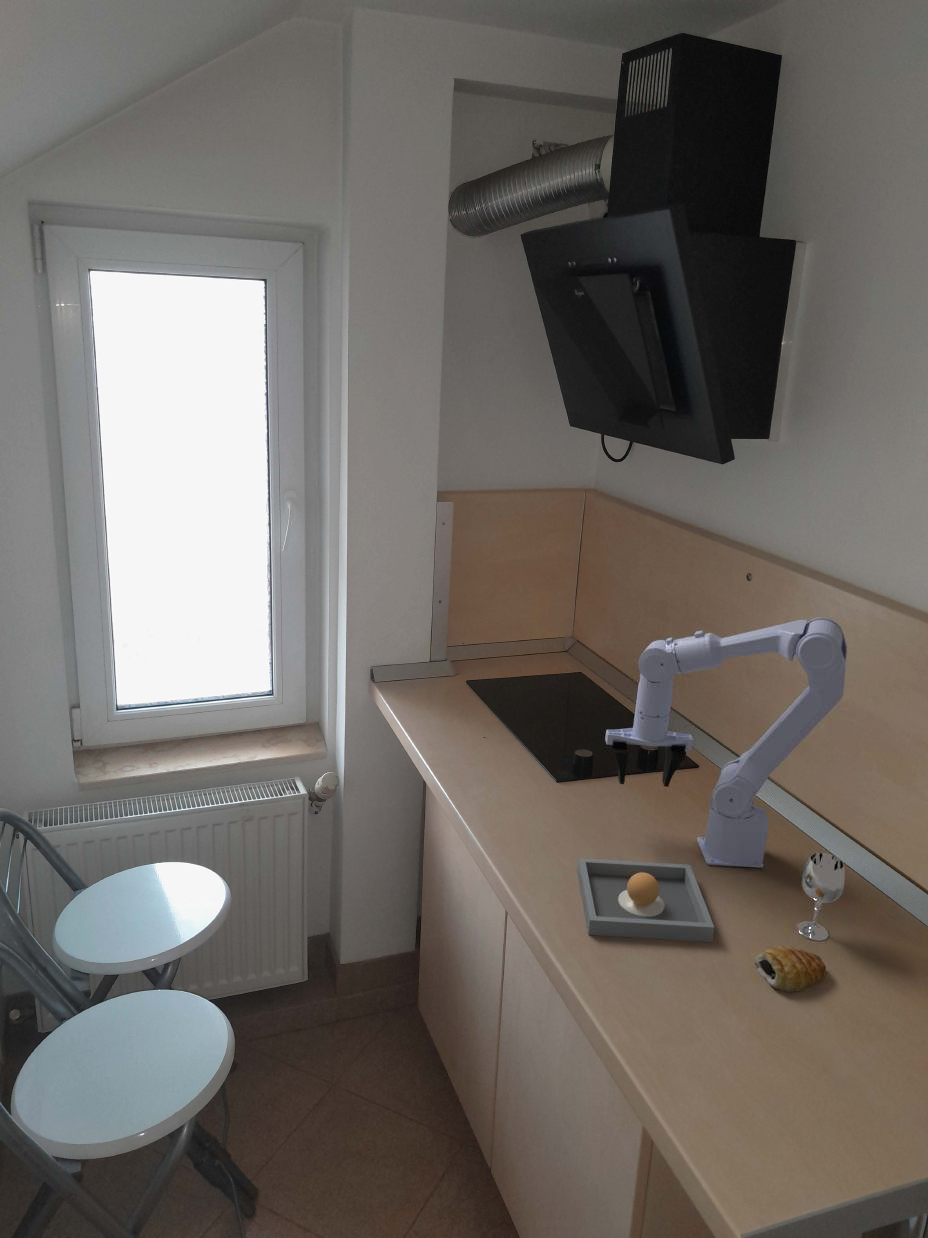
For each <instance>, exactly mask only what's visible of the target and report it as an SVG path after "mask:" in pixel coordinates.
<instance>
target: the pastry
mask: <svg viewBox="0 0 928 1238" xmlns="http://www.w3.org/2000/svg"><path fill="white" fill-rule="evenodd" d="M754 965H755V966H756V969H757V972H758V973H759V975H761V977H763V979H765V980H766V981H767V982H768V984H769V985H770V986H771V987H773V988H775V989H776V990H778V991H779V990H780V991H782V992H788V993H793V992H794V991H795V992H796V991H797V992H800V991H804V990H807V989H809V988H811V987H813V986H816V985H817V984H819V983H821V982H822V981H823V979H824V978H825V976H826V972H827V966H826V964H825V963H824V961H823V960H822V957H820V956H819V955H817V954H815V953H813V952H811V951H806V950H805V951H804V950H803V949H801V948H800V949H796V948H794V947H793V946H791V947H786V946H783V945H780V946H779V947H774V946H773V947H772V946H769V947H767V948H766V950H765V951H762V952H761V953H759V954H758V955H757V956H755V957H754Z"/></svg>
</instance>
